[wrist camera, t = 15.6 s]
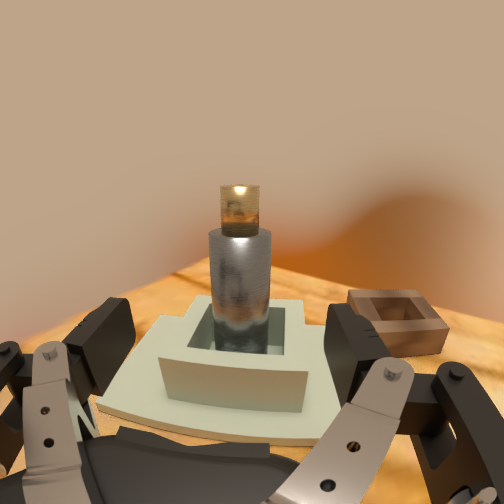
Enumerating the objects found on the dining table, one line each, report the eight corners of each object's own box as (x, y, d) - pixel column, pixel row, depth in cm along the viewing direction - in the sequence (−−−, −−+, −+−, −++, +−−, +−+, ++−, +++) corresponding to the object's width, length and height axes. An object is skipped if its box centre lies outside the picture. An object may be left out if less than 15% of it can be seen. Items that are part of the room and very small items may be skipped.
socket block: (360, 359, 23) (367, 333, 22) (345, 312, 32) (348, 289, 31) (440, 353, 22) (449, 328, 21) (411, 311, 31) (416, 289, 30)
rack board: (99, 410, 16) (76, 361, 15) (162, 322, 30) (156, 280, 28) (376, 441, 14) (401, 393, 13) (347, 333, 27) (355, 290, 26)
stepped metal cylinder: (212, 381, 20) (199, 188, 16) (222, 351, 23) (216, 184, 19) (264, 386, 19) (270, 189, 15) (268, 354, 23) (273, 184, 19)
